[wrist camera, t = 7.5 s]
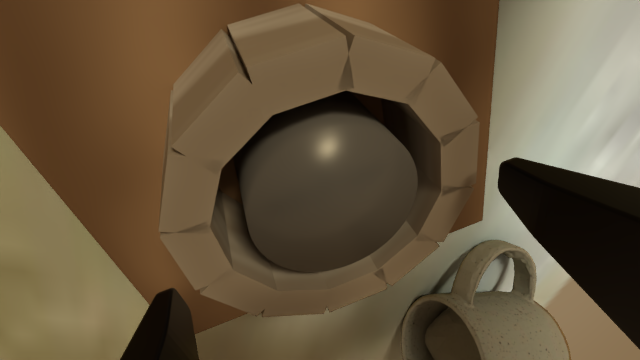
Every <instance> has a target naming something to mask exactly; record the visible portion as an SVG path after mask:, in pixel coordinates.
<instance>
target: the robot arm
mask: <svg viewBox="0 0 640 360" xmlns="http://www.w3.org/2000/svg"><path fill="white" fill-rule="evenodd" d="M498 189H499V192H500V194H501V195H502V196H503V198H504V199H505V200H506V202H507V203H508V204H509V206H510V207H511V208H512V210H513V211H514V212H515V213H516V215H517V216H518V217H519V219H520V220H521V221H522V223H523V224H524V225H525V227H526V228H527V229H528V230H529V232H530V233H531V234H532V235H533V237H534V238H535V239H536V240H537V241H538V242H539V243H540V244H541V245H542V246H543V247H544V249H545V250H546V251H547V252H548V253H549V254H550V255H551V256H552V257H553V258H554V259H555V260H556V261H557V262H558V263H559V264H560V266H561V267H562V268H563V269H564V270H565V271H566V272H567V273H568V274H569V275H570V276H571V277H572V278H573V279H574V280H575V281H576V282H577V284H579V286H580V287H581V288H582V289H583V290H584V291H585V292H586V293H587V294H588V295H589V296H590V297H591V298H592V299H593V300H594V302H595V303H596V304H597V305H598V306H599V307H600V308H601V309H602V310H603V311H604V312H605V313H606V314H607V315H608V316H609V317H610V319H611V320H612V321H613V322H614V323H615V324H616V325H617V326H618V327H619V328H620V329H621V330H622V331H623V332H624V333H625V334H626V335H627V336H628V338H629V339H630V340H631V341H632V342H633V343H634V344H635V345H636V346H637V347H638V348H639V349H640V188H638V187H634V186H630V185H626V184H622V183H618V182H614V181H610V180H606V179H602V178H598V177H594V176H590V175H586V174H582V173H578V172H574V171H570V170H566V169H562V168H557V167H553V166H549V165H545V164H541V163H537V162H533V161H529V160H525V159H521V158H512V159H509V160H506V161H504V162H502V163H501V165H500V168H499V178H498ZM120 360H199V357H198V351H197V345H196V339H195V333H194V327H193V321H192V315H191V311H190V309H189V307H188V305H187V304H186V302H185V301H184V299H183V298H182V297H181V295H180V294H179V293H178V291H177V290H176V289H175V288H169V289H166V290H164V291H161V292H159V293H157V294H156V295H155V297H154V299H153V300H152V302H151V304H150V306H149V308H148V309H147V311H146V313H145V315H144V317H143V319H142V320H141V322H140V324H139V326H138V328H137V330H136V331H135V333H134V335H133V337H132V339H131V341H130V342H129V344H128V346H127V348H126V350H125V351H124V353H123V355H122V357H121V359H120Z"/></svg>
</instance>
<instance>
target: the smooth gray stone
mask: <svg viewBox="0 0 640 360" xmlns="http://www.w3.org/2000/svg"><path fill="white" fill-rule="evenodd" d="M233 160H234V165H235V169H236V174H237V179H238V183H239V188H240V193H241V197H242V202H243V207H244V211H245V216H246V221H247V225H248V230H249V233H250V236H251V239H252V241H253V242H254V244H255V246H256V247H257V249H258V250H259V251H260V252H261V253H262V254H263V255H264V256H265V257H266V258H268V259H269V260H270V261H272V262H274V263H275V264H277V265H280V266H282V267H284V268H288V269H291V270H296V271H302V272H321V271H328V270H334V269H338V268H342V267H345V266H347V265H350V264H353V263H355V262H357V261H360V260H362V259H363V258H365V257H367V256H369V255H370V254H372V253H373V252H375V251H376V250H378V249H379V248H380V247H382V246H383V245H384V244H385V243H387V242H388V241H389V240H390V239H391V238H392V237H393V236H394V235H395V234H396V232H397V231H398V230H399V229H400V228H401V226H402V225H403V223H404V222H405V220H406V219H407V217H408V215H409V213H410V211H411V209H412V207H413V204H414V201H415V197H416V193H417V186H418V177H417V171H416V166H415V163H414V160H413V158H412V157H411V155H410V153H409V151H408V150H407V149H406V148H405V147H404V145H403V144H402V143H401V142H400V141H399V140H398V139H397V138H396V137H395V136H394V135H393V134H392V133H391V132H390V131H389V130H388V129H387V128H386V127H385V126H384V125H383V124H382V123H381V122H380V121H379V120H378V119H377V118H376V117H375V116H374V115H373V114H372V113H371V112H370V111H369V110H368V109H367V108H366V107H365V106H364V105H363V104H362V103H361V102H360V101H359V100H358V99H357V98H356V97H355V96H354V95H353V94H352V93H351V92H350V91H343V92H340V93H337V94H334V95H331V96H328V97H325V98H322V99H319V100H316V101H313V102H310V103H307V104H304V105H301V106H298V107H295V108H292V109H289V110H286V111H283V112H280V113H277V114H274V115H272V116H271V117H270V118H269V119H268V121H267V122H266V123H265V124H264V125H263V126H262V127H261V128H260V129H259V130H258V131H257V132H256V133H255V134H254V135H253V136H252V137H251V138H250V139H249V140H248V141H247V142H246V144H245V145H244V146H243V147H242V148H241V149H240V150H239V151H238V152H237V153H236V154H235V155H234V156H233Z"/></svg>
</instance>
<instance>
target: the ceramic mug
mask: <svg viewBox="0 0 640 360" xmlns="http://www.w3.org/2000/svg"><path fill="white" fill-rule="evenodd" d="M502 253H503V254H505V256H507V257H508V258H512V259H513V262H514V271H515V272H514V282H513V289H512V291H511V292H502V291H492V292H480V293H475V292H476V289H477V287H478V285H479V282H480V279H481V277H482V275H483V274H484V272H485V270H486V269H487V267H488V266H489V265H490V263H491V262H492V261H493V260H494V259H495V258H496V257H497V256H499V255H500V254H502ZM535 287H536V266H535V263H534V261H533V259H532V258H531V256H530V255H529V253H528V252H527V251H525V250H524V249H522V248H520V247H518V246H515V245H513V244H510V243H507V242H505V241H501V240H489V241H485V242H482V243H480V244H479V245H478V246H476V247H475V248H473V249H472V250H471V251H470V252H469V253H468V254H467V256H466V257H465V258H464V260H463V261H462V263H461V265H460V267H459V270H458V272H457V275H456V277H455V280H454V283H453V287H452V290H451V293H439V294H429V295H425V296H423V297H420V298H419V299H417V300H416V301H415V302H414V303H413V304H412V305H411V307H410V308H409V309H408V311H407V313H406V316H405V318H404V321H403V326H402V332H401V349H402V357H403V360H571V357H570V351H569V346H568V343H567V341H566V338H565V336H564V334H563V332H562V330H561V329H560V327H559V325H558V323H557V322H556V321H555V319H554V318H553V317H552V316H551V314H550V313H549V312H548V311H547V310H546V309H544V308H543V307H542V306H541V305H539V304H538V303H537V302H535V301H534V300H533V298H534V293H535Z"/></svg>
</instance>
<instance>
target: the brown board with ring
mask: <svg viewBox="0 0 640 360" xmlns="http://www.w3.org/2000/svg"><path fill="white" fill-rule="evenodd" d="M498 10H499V0H0V125H1V127H2V128H3V129H4V130H5V132H6V133H7V134H8V135H9V136H10V138H11V139H12V140H13V141H14V142H15V144H16V145H17V146H18V147H19V148H20V150H21V151H22V152H23V153H24V154H25V156H26V157H27V158H28V159H29V160H30V162H31V163H32V164H33V165H34V166H35V168H36V169H37V170H38V171H39V172H40V174H41V175H42V176H43V177H44V178H45V180H46V181H47V182H48V183H49V184H50V186H51V187H52V188H53V189H54V190H55V192H56V193H57V194H58V195H59V196H60V198H61V199H62V200H63V201H64V202H65V204H66V205H67V206H68V207H69V208H70V210H71V211H72V212H73V213H74V214H75V216H76V217H77V218H78V219H79V220H80V222H81V223H82V224H83V225H84V226H85V228H86V229H87V230H88V231H89V232H90V234H91V235H92V236H93V237H94V238H95V240H96V241H97V242H98V243H99V244H100V246H101V247H102V248H103V249H104V251H105V252H106V253H107V254H108V255H109V257H110V258H111V259H112V260H113V261H114V263H115V264H116V265H117V266H118V267H119V269H120V270H121V271H122V272H123V273H124V275H125V276H126V277H127V278H128V279H129V281H130V282H131V283H132V284H133V285H134V287H135V288H136V289H137V290H138V291H139V293H140V294H141V295H142V296H143V297H144V299H145V300H146V301H147V302H148V303H149V305H150V304H151V302H152V300H153V299H154V297H155V295H156V294H157V293H159V292H161V291H164V290H166V289H169V288H175V289H176V290H177V291H178V293H179V294H180V295H181V297H182V298H183V299H184V301H185V302H186V304H187V305H188V307H189V309H190V311H191V315H192V321H193V327H194V333H195V334H197V333H199V332H202V331H204V330H207V329H209V328H212V327H214V326H217V325H219V324H222V323H224V322H227V321H229V320H232V319H234V318H237V317H240V316H242V315H245V314H247V313H250V314H252V315H255V316H258V315H259V314H260V313H262V317H271V316H290V315H308V314H324V312H325V310H326V308H327V307H328V310H329V312H332V311H334V310H337V309H339V308H341V307H344V306H346V305H349V304H351V303H354V302H356V301H359V300H361V299H364V298H366V297H368V296H371V295H373V294H376V293H378V292H381V291H383V290H386V289H387V285H386V283H388V284H390V285H391V286H393V285H394V284H395V283H396V282H397V281H399V280H400V279H401V278H402V277H403V276H405V275H406V274H407V273H408V272H409V271H411V270H412V269H413V268H414V267H415V266H417V265H418V264H419V263H420V262H421V261H423V260H424V259H425V258H426V257H427V256H429V255H430V254H431V253H432V252H433V251H435V250H436V249H437V248H438V247H439V245H438V243H437V242H444V240H445V238H446V237H447V235H448V234H449V233H452V232H454V231H457V230H459V229H462V228H464V227H467V226H469V225H472V224H474V223H477V222H479V221H482V218H483V205H484V192H485V179H486V166H487V153H488V140H489V127H490V114H491V101H492V88H493V75H494V62H495V49H496V36H497V23H498ZM343 91H350V92H351V93H352V94H353V95H354V96H355V97H356V98H357V99H358V100H359V101H360V102H361V103H362V104H363V105H364V106H365V107H366V108H367V109H368V110H369V111H370V112H371V113H372V114H373V115H374V116H375V117H376V118H377V119H378V120H379V121H380V122H381V123H382V124H383V125H384V126H385V127H386V128H387V129H388V130H389V131H390V132H391V133H392V134H393V135H394V136H395V137H396V138H397V139H398V140H399V141H400V142H401V143H402V144H403V145H404V147H405V148H406V149H407V150H408V151H409V153H410V155H411V157H412V158H413V160H414V163H415V166H416V171H417V177H418V186H417V193H416V197H415V201H414V204H413V207H412V209H411V211H410V213H409V215H408V217H407V219H406V220H405V222H404V223H403V225H402V226H401V228H400V229H399V230H398V231H397V232H396V234H395V235H394V236H393V237H392V238H391V239H390V240H389V241H388V242H387V243H385V244H384V245H383V246H382V247H380V248H379V249H378V250H376V251H375V252H373V253H372V254H370V255H369V256H367V257H365V258H363V259H362V260H360V261H357V262H355V263H353V264H350V265H347V266H345V267H342V268H338V269H334V270H328V271H321V272H302V271H296V270H291V269H288V268H284V267H282V266H280V265H277V264H275V263H274V262H272V261H270V260H269V259H268V258H266V257H265V256H264V255H263V254H262V253H261V252H260V251H259V250H258V249H257V247H256V246H255V244H254V242H253V241H252V239H251V236H250V233H249V230H248V225H247V221H246V216H245V211H244V207H243V202H242V197H241V193H240V188H239V183H238V179H237V174H236V169H235V165H234V160H233V156H234V155H235V154H236V153H237V152H238V151H239V150H240V149H241V148H242V147H243V146H244V145H245V144H246V142H247V141H248V140H249V139H250V138H251V137H252V136H253V135H254V134H255V133H256V132H257V131H258V130H259V129H260V128H261V127H262V126H263V125H264V124H265V123H266V122H267V121H268V119H269V118H270V117H271V116H272V115H274V114H277V113H280V112H283V111H286V110H289V109H292V108H295V107H298V106H301V105H304V104H307V103H310V102H313V101H316V100H319V99H322V98H325V97H328V96H331V95H334V94H337V93H340V92H343Z"/></svg>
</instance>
